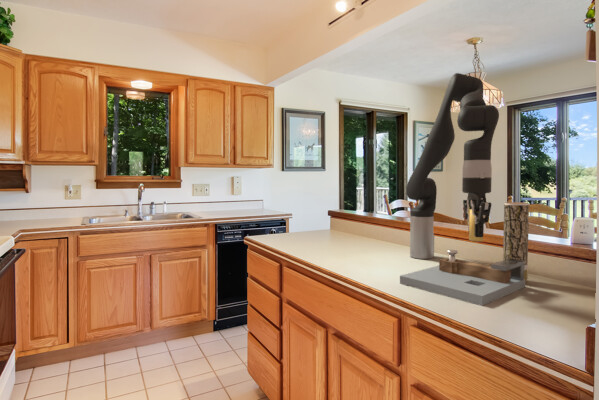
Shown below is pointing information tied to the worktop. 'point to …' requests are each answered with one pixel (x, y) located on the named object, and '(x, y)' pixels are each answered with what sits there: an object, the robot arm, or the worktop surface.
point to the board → (460, 285)
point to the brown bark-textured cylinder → (516, 232)
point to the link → (474, 270)
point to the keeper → (511, 268)
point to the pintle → (452, 255)
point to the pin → (473, 228)
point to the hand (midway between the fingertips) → (475, 235)
